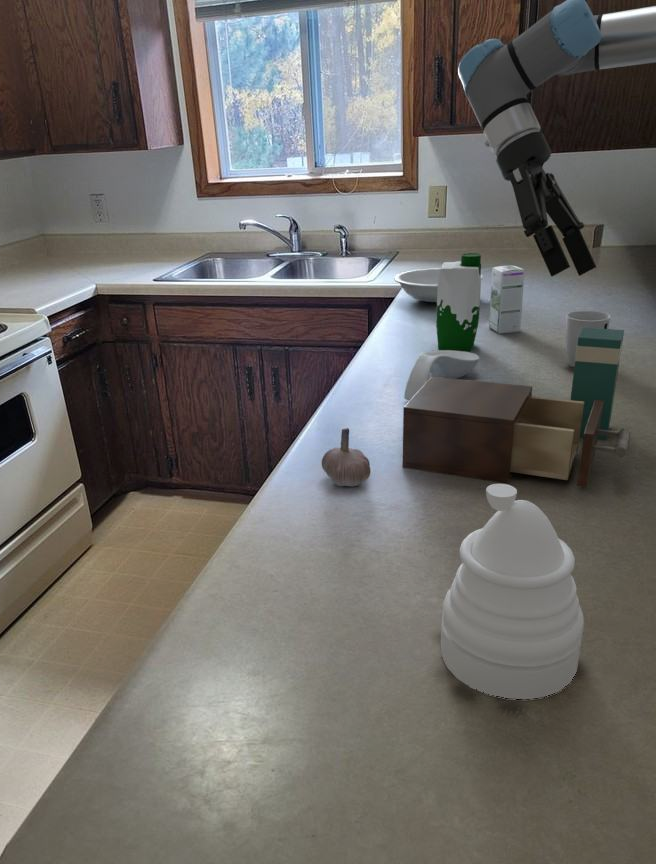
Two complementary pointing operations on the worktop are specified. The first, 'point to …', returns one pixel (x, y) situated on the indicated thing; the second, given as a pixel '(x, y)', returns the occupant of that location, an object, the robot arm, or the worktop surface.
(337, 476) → the garlic bulb
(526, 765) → the worktop surface
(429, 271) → the soup bowl
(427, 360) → the spoon rest
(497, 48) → the robot arm
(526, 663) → the honey pot
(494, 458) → the cabinet
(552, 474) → the drawer
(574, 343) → the cup
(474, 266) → the milk carton
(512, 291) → the syrup box
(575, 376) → the carton
